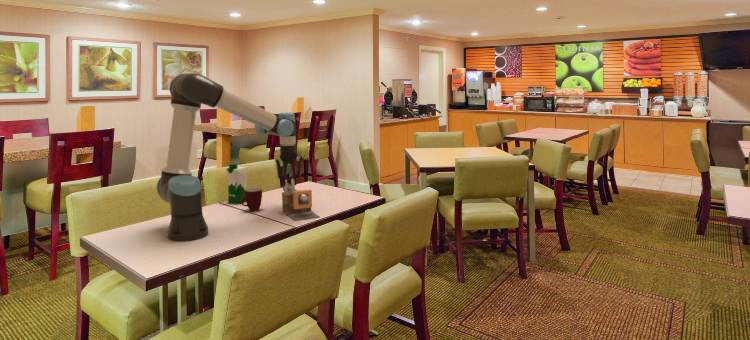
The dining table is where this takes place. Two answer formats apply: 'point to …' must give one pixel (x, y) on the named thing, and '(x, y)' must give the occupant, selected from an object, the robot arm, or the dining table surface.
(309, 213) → the mat
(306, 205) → the frame
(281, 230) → the dining table surface
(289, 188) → the shaft
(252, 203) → the mug
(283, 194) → the cradle block
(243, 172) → the milk carton
